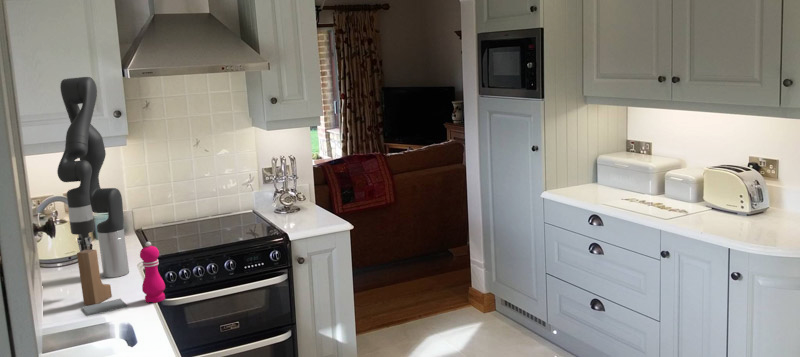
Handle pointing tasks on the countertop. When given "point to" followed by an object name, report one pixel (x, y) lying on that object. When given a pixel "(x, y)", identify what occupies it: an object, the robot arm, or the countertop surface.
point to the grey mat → (104, 306)
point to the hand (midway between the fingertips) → (88, 267)
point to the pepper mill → (152, 275)
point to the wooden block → (92, 278)
